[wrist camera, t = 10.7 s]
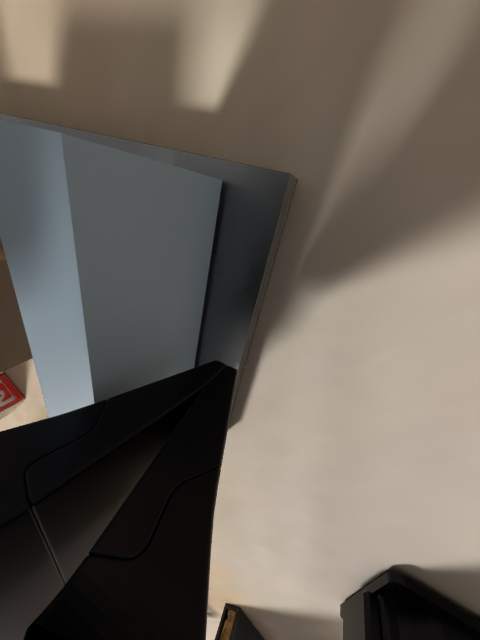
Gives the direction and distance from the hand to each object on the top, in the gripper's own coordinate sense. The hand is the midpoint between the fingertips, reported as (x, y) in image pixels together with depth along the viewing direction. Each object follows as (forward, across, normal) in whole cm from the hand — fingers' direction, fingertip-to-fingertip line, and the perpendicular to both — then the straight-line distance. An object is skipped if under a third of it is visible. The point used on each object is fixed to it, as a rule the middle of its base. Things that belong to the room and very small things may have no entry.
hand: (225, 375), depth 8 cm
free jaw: (+1, +3, 0) cm, 3 cm away
